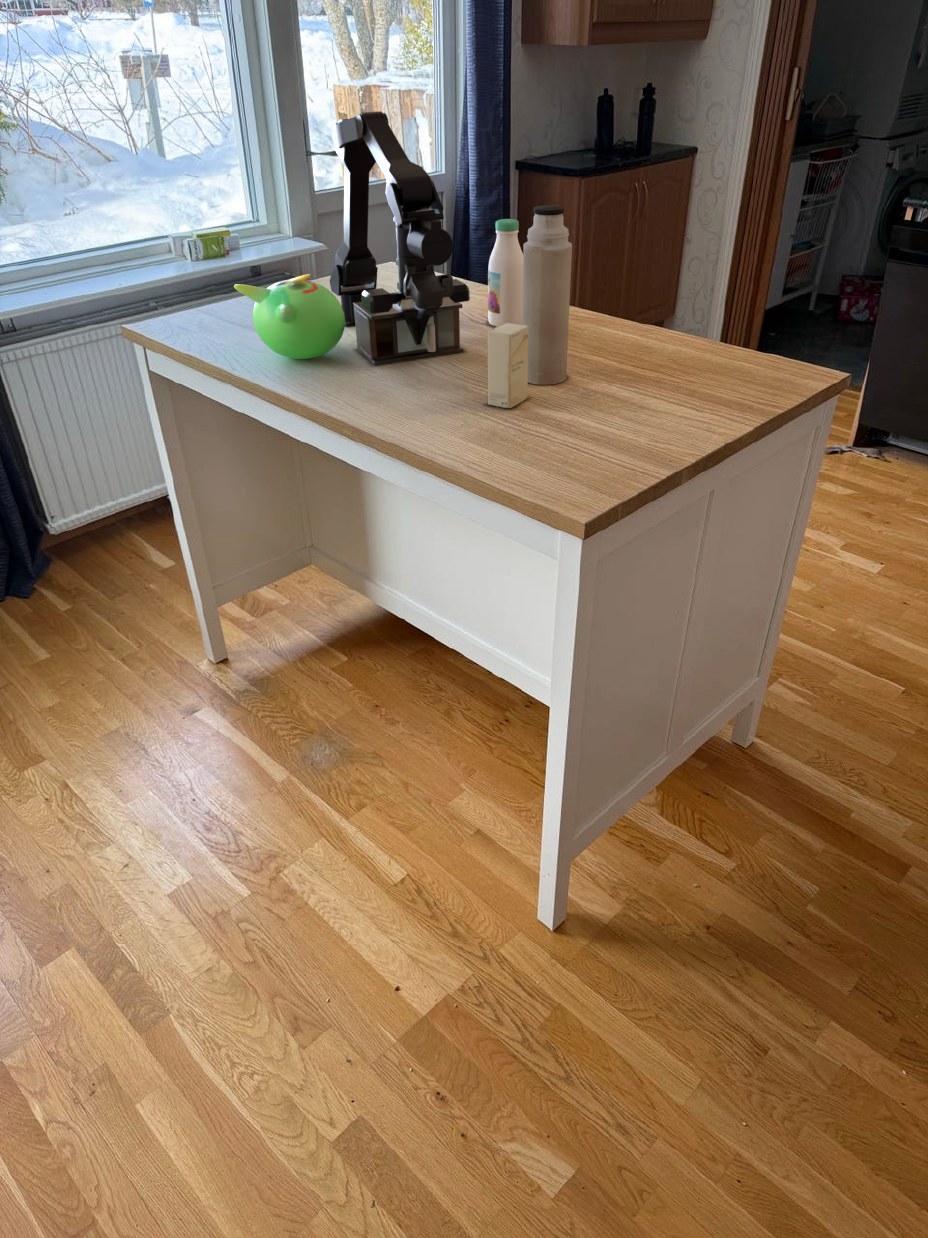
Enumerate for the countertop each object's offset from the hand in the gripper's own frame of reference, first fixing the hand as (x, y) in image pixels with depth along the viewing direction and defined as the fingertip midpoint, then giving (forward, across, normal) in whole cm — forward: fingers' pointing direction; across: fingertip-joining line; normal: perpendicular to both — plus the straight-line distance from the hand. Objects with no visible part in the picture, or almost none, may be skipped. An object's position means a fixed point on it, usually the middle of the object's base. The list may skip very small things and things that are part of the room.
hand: (418, 344), depth 164 cm
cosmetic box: (+4, +7, -24) cm, 25 cm away
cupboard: (+4, +2, +10) cm, 11 cm away
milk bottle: (+4, +26, +18) cm, 32 cm away
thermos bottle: (+4, +18, -16) cm, 24 cm away
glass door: (+3, +1, +2) cm, 4 cm away
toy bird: (+4, -18, +15) cm, 24 cm away
